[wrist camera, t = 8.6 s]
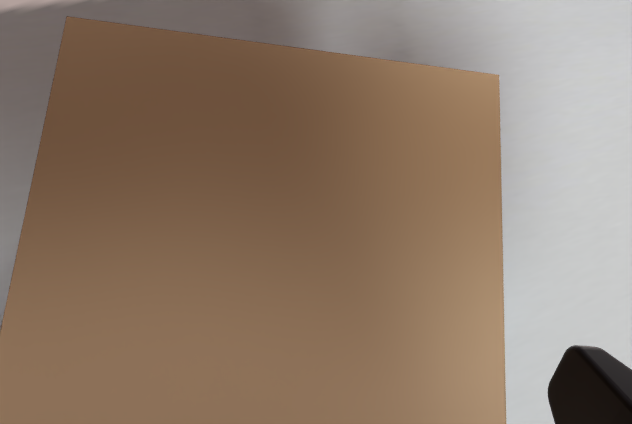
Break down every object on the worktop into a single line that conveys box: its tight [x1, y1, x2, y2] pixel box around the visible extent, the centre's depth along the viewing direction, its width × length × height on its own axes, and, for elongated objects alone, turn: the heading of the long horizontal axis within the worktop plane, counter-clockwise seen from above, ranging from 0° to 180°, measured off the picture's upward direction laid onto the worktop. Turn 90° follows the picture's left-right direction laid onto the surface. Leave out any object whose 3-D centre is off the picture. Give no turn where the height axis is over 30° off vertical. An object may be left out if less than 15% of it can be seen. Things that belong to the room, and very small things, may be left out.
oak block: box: [0, 16, 506, 424], centre depth 11 cm, size 5×5×11 cm
